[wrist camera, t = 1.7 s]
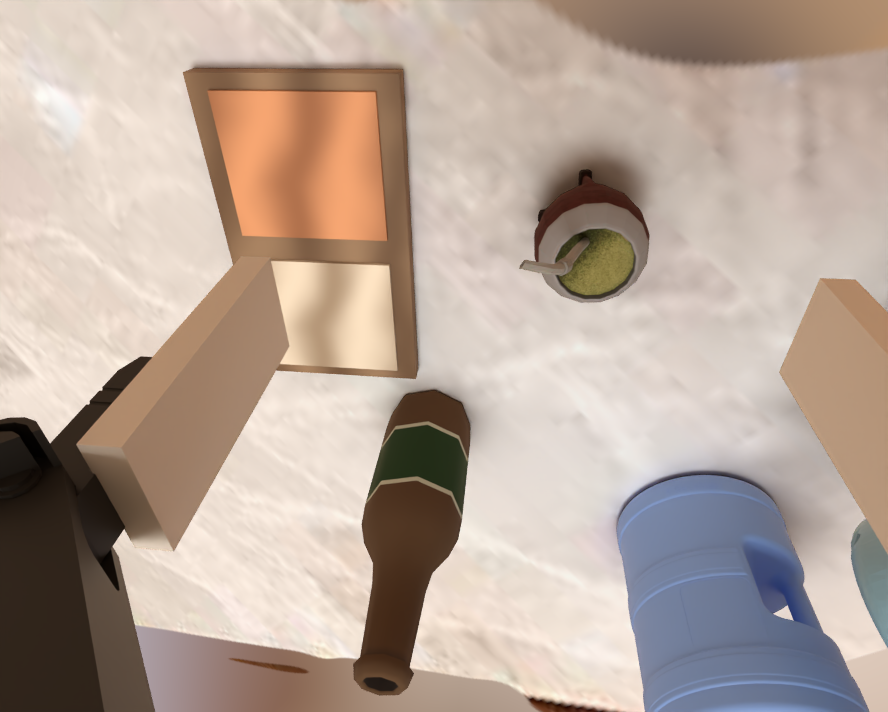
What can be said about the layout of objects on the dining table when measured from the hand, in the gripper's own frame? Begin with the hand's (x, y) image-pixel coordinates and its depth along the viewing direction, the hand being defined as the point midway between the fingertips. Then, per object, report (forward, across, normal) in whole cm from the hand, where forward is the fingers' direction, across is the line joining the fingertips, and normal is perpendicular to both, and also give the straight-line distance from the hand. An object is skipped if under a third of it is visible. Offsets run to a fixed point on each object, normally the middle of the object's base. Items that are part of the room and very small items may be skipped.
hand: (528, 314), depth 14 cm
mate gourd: (+27, -4, +8) cm, 28 cm away
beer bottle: (+27, +7, +29) cm, 40 cm away
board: (+27, +15, +11) cm, 33 cm away
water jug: (+27, -20, +41) cm, 53 cm away
